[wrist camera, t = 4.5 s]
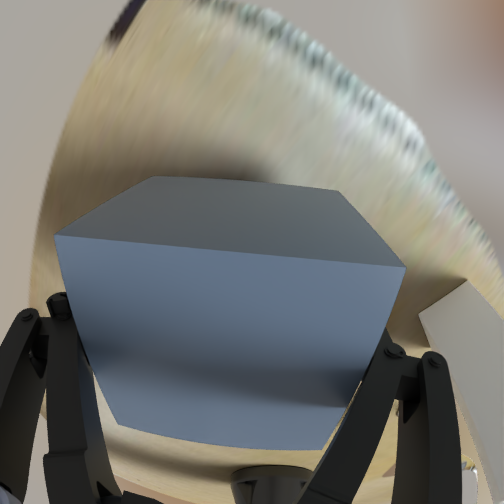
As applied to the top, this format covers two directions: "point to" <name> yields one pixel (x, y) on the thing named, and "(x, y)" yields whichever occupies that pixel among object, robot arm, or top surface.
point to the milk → (474, 370)
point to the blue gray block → (228, 307)
